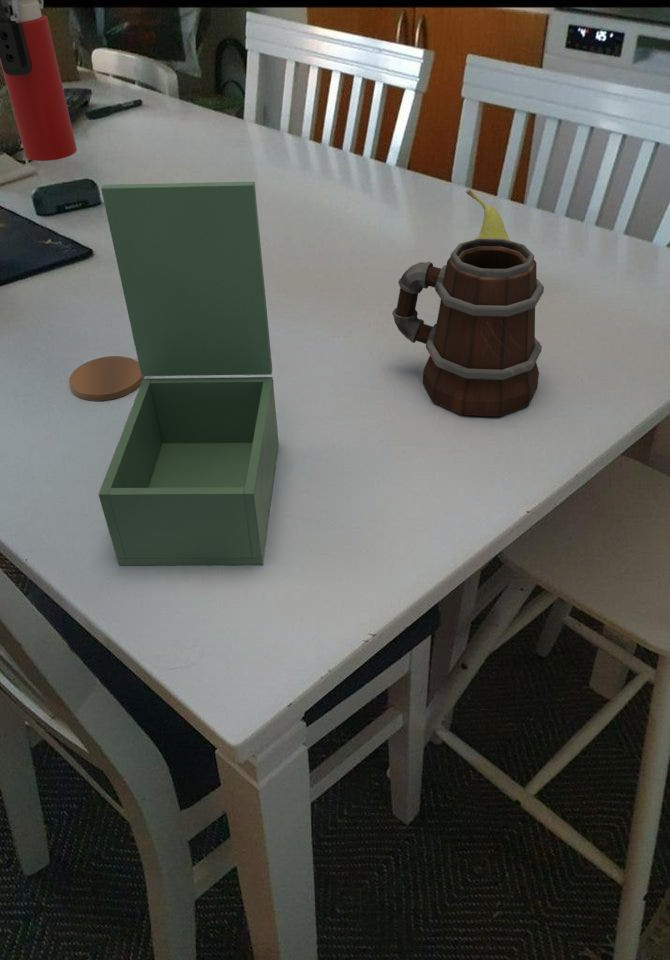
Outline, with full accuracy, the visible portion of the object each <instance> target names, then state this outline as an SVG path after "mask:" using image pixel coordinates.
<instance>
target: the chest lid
mask: <svg viewBox="0 0 670 960" xmlns="http://www.w3.org/2000/svg"><path fill="white" fill-rule="evenodd" d="M100 190H101V194H102V199H103V204H104V208H105V214H106V217H107V222H108V227H109V232H110V237H111V241H112V245H113V251H114V254H115V255H114V256H115V258H116V265H117V268H118V273H119V278H120V282H121V288H122V292H123V296H124V301H125V306H126V311H127V315H128V320H129V325H130V329H131V334H132V338H133V344H134V348H135V353H136V357H137V362H139V367H140V371H141V376H144V377H182V376H185V377H188V376H192V377H193V376H262V375H263V376H264V375H265V376H266V375H267V376H268V375H269V376H270V375H273V362H272V361H273V360H272V351H271V340H270V329H269V319H268V318H269V317H268V308H267V297H266V288H265V287H266V285H265V276H264V266H263V253H262V245H261V234H260V224H259V213H258V203H257V191H256V182H255V181H220V182H219V181H218V182H216V181H215V182H173V183H170V182H169V183H167V182H166V183H128V184H127V183H125V184H103V185H102V186H101V188H100Z"/></svg>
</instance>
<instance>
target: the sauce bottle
mask: <svg viewBox="0 0 670 960" xmlns="http://www.w3.org/2000/svg"><path fill="white" fill-rule="evenodd" d="M18 7H19V13H20V22H19V23H22V27H23V31H24V35H25V39H26V44H27V48H28V52H29V56H30V60H31V64H32V71H31V72H30V73H28V74H27V75H8V74H6V73H5V72H4V70H3V66H2V62H1V59H0V67H1V70H2V74H3V77H4V81H5V86H6V90H7V93H8V96H9V100H10V104H11V108H12V111H13V115H14V118H15V123H16V127H17V131H18V135H19V138H20V142H21V146H22V149H23V152H24V157H25V158H26V159H28V160H31V161H37V162H47V161H48V162H49V161H56V160H57V161H58V160H61V159H65V158H68V157H71V156H72V155H74V154H76V153H77V151H78V147H77V143H76V139H75V135H74V131H73V126H72V121H71V116H70V113H69V112H70V111H69V108H68V103H67V100H66V94H65V91H64V86H63V81H62V78H61V77H62V76H61V73H60V68H59V64H58V59H57V55H56V50H55V46H54V41H53V37H52V33H51V28H50V24H49V19H48V16H47V15H45V14H42V15H41V12H42V9H40V6H39V2H38V0H18Z"/></svg>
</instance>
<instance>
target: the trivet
mask: <svg viewBox="0 0 670 960" xmlns="http://www.w3.org/2000/svg"><path fill="white" fill-rule="evenodd" d="M143 379H145V376H141V371H140V367H139V362H138V360H136V359H133V358H132V357H128V356H122V355H110V356H103V357H97V358H95V359H92V360H91V359H90V360H89V361H86V362H84V363H82V364H81V365H79V366H78V367H77V368H75V369H74V370H73V371H72V372H71V374H70V376H69V381H68V382H69V386H70V390H71V392H72V393H73V394H74V395H75V396H77V398H80V399H83V400H86V401H92V402H93V401H94V402H100V401H101V402H102V401H104V402H105V401H111V400H115V399H120V398H122V397H125V396H128V395H129V394H131V393H132V392H135V390H137V389H138V388H140V386H141V383H142V381H143Z"/></svg>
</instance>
